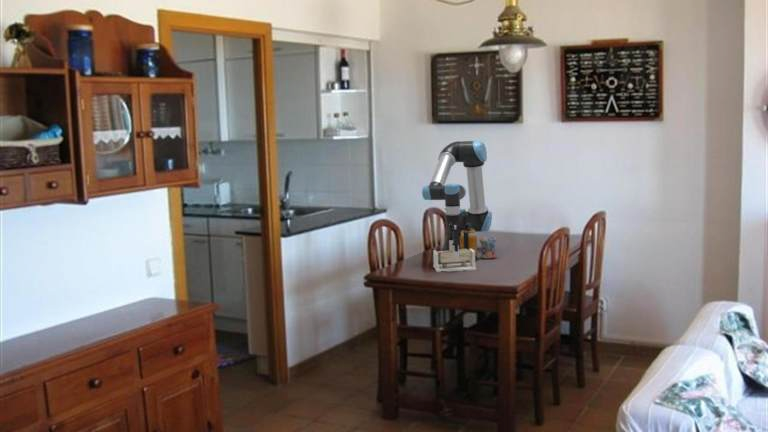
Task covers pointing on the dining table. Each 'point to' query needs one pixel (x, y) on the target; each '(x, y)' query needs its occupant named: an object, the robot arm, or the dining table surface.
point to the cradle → (454, 266)
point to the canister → (468, 239)
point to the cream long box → (448, 257)
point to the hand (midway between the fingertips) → (454, 255)
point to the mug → (488, 247)
